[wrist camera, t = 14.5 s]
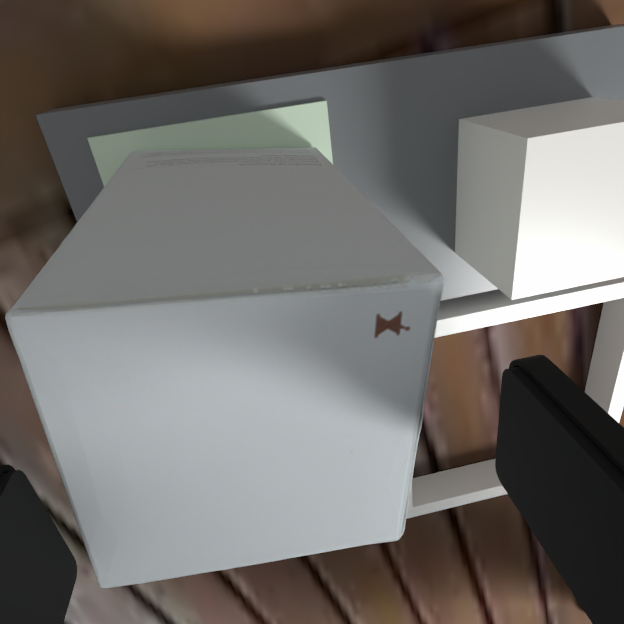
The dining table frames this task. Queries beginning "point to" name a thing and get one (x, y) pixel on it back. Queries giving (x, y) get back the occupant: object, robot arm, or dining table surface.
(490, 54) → the grey base with cube
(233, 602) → the dining table surface
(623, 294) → the white square frame
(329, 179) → the supplement box
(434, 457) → the dining table surface
